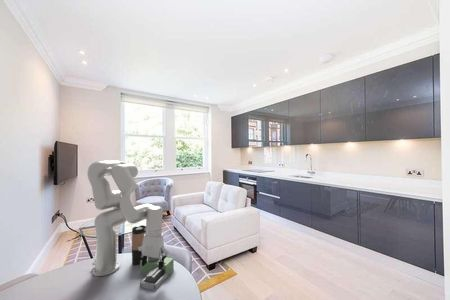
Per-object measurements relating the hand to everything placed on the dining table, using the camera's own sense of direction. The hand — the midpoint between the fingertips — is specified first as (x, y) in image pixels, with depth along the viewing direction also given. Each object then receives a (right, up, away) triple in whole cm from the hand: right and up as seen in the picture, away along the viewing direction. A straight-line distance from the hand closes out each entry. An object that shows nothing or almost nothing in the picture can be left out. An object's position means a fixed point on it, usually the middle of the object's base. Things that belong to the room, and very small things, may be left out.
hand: (152, 266), depth 93 cm
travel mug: (-15, -8, +17) cm, 24 cm away
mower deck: (-2, -7, +3) cm, 8 cm away
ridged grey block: (+1, -7, -1) cm, 7 cm away
